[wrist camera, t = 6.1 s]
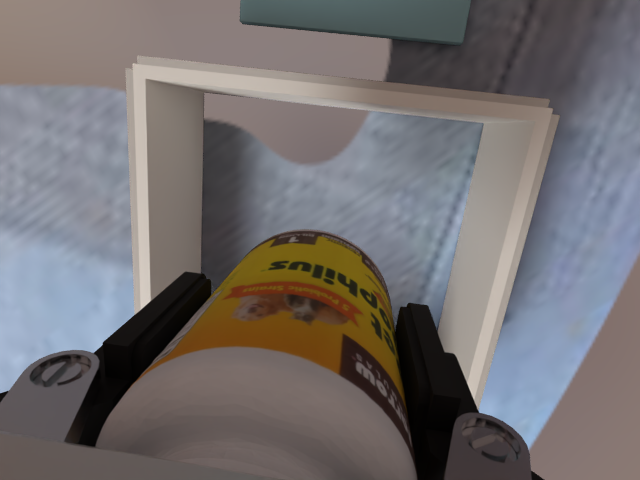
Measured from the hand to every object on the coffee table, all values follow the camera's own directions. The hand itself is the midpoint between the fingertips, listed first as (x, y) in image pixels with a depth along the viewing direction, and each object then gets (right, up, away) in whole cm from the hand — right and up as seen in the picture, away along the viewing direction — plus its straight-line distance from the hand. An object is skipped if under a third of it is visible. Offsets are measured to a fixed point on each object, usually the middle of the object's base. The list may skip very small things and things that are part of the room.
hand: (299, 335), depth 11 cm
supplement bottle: (0, +1, +3) cm, 3 cm away
